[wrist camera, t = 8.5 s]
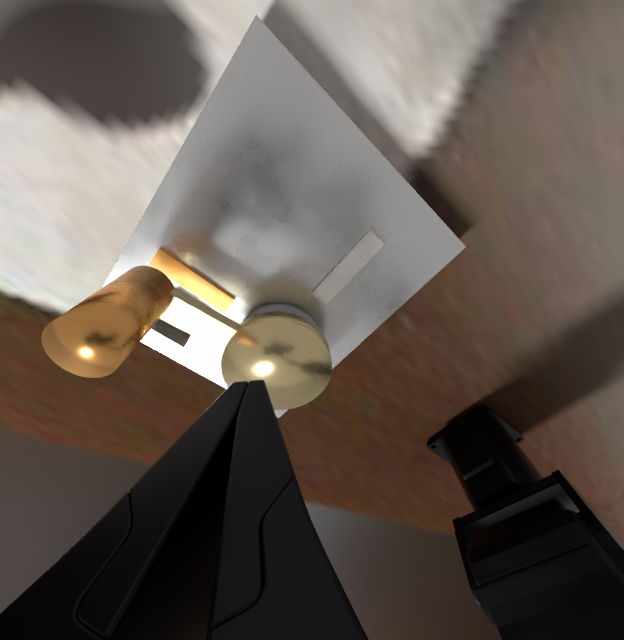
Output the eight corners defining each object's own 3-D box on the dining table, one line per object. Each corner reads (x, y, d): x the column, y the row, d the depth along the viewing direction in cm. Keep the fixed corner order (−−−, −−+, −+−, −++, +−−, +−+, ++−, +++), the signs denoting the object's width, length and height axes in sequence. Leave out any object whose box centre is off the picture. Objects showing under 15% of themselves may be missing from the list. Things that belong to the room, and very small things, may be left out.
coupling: (351, 346, 18) (371, 419, 13) (291, 409, 20) (289, 492, 15) (150, 222, 14) (68, 258, 9) (106, 318, 16) (22, 389, 11)
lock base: (456, 241, 18) (489, 259, 15) (279, 406, 25) (276, 443, 21) (259, 26, 13) (247, -15, 10) (99, 303, 19) (61, 332, 16)
